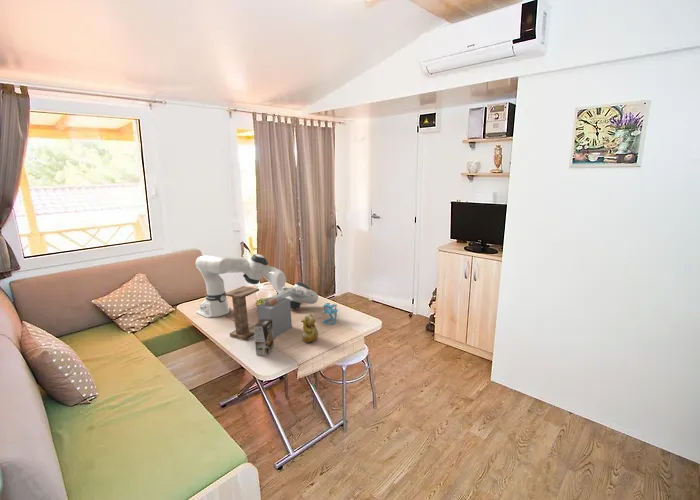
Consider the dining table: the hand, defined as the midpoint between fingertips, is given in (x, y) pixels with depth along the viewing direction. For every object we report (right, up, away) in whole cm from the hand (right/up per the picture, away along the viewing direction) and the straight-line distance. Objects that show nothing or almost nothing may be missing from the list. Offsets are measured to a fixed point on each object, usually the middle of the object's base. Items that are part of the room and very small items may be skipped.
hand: (289, 289), depth 215 cm
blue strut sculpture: (+25, -20, +4) cm, 32 cm away
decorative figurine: (+15, -26, -20) cm, 36 cm away
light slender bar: (-4, -5, -6) cm, 9 cm away
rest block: (-7, -24, -8) cm, 26 cm away
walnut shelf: (-23, -24, -10) cm, 35 cm away
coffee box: (-7, -29, -30) cm, 42 cm away
